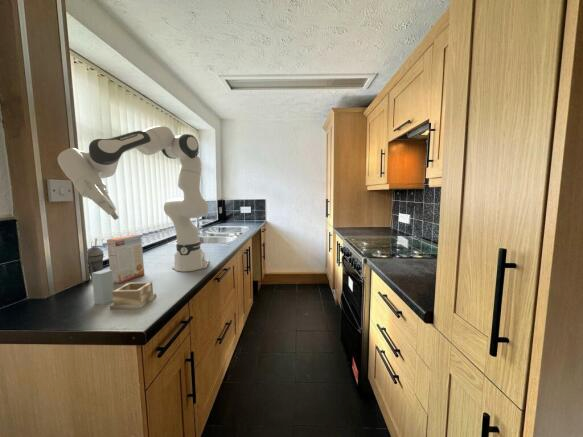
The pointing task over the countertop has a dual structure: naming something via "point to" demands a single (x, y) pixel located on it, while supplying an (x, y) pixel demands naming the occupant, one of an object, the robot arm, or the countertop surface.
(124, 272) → the cracker box
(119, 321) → the countertop surface
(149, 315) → the countertop surface
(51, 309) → the countertop surface
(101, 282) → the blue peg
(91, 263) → the beverage cup
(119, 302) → the cup collar
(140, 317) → the countertop surface
